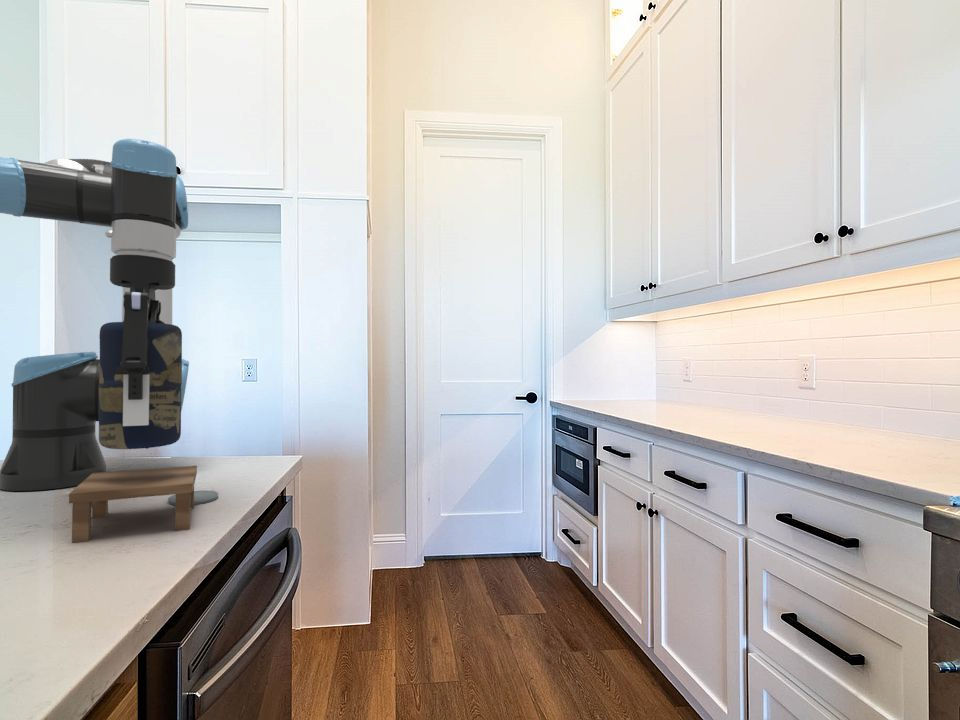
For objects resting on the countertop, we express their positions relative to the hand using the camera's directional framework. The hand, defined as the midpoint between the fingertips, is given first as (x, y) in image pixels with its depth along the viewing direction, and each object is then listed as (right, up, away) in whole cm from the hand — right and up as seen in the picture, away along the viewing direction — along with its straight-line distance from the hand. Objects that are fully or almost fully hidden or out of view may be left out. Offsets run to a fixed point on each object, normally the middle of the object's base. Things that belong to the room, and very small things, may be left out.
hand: (141, 421), depth 71 cm
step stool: (0, -14, 0) cm, 14 cm away
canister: (0, -4, 0) cm, 4 cm away
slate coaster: (+1, -14, +12) cm, 18 cm away
